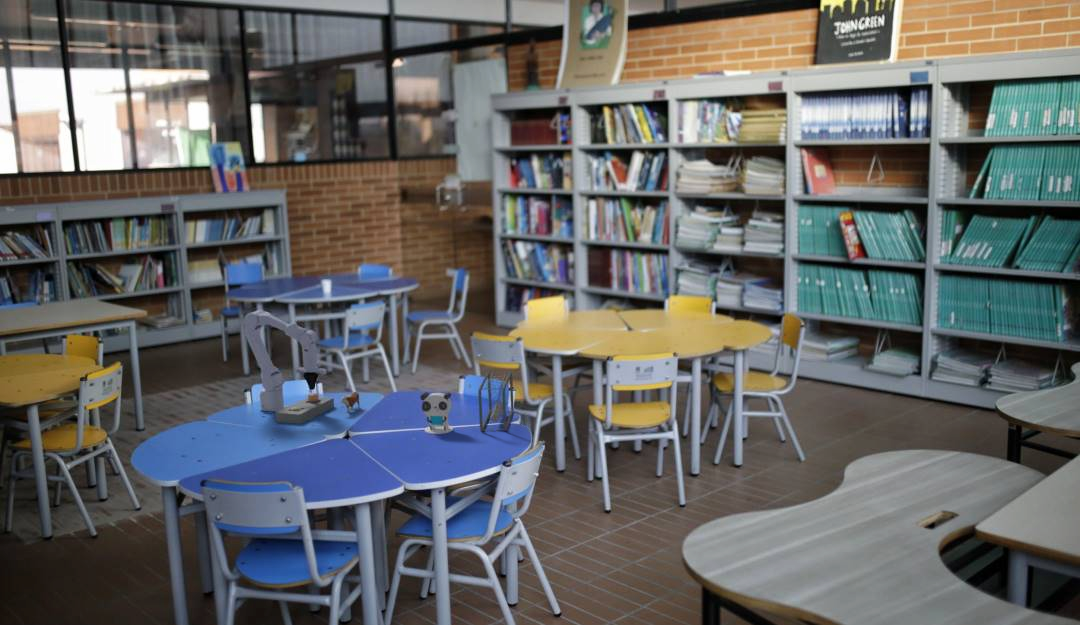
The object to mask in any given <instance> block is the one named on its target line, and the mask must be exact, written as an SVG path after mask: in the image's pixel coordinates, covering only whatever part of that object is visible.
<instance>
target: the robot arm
mask: <svg viewBox="0 0 1080 625" xmlns="http://www.w3.org/2000/svg"><path fill="white" fill-rule="evenodd" d="M242 322H243V325H244V335H245V338H246V341H247V342H248V345H249V347H250V348H251V351H252V353H253V356H254V357H255V359H256V361H257V364H258V366H259V368H260V370H261V374H260V378H261V385H262V387H263V389H262V390H260V394H259V399H260V409H259V410H260V411H261V412H262V411H263V412H264V411H266V412H275V413H276V412H278V411H280V410H282V409H284V408H286V407H289V405H285V404H284V403H285V402H284V389H283V387H284V386H283V385H284V384H285V379H286V378H285V376H284V374H283V373H282V372H280V369H279V368H278V367H276V366H275V365H274V364H273V363H274V362H272V359H271V357H270V355H269V353H268V351H267V348H266V346H265V344H264V341H263V339H262V337H261V335H260V332H261V329H262V327H263V326H265V325H266V326H267V325H269V326H270V327H271V326H272V327H274V328H277V329H279V330H281V331H283V332H284V333H285V335H286V336H288V337H290V338H292V339H294V340H296V341H298V342H299V344H300V346H301V351H302V353H301V354H302V364H303V366H302V367H296V368H294V372H295V374H297V373H303V375H302V377H303V378H304V379H305V381H306V383H307V387H308V389H309V390H310V391H311V390H312V391H313V390H316V389H315V388H316V385H317V384H316V383H317V380H318V378H319V375H320V374H321V375H326V374H327V368H321V367H318V360H317V359H318V358H317V345H316V341H317V340H318V335H317V333H316V331H314V330H313V329H308V328H305V327H304V328H303V327H301V326H299V325H298V323H296V322H294V323H293V322H292V323H291V322H290V323H287V322H285V321H283V320H281V319H280V318H278V317H276V316H274V315H272V314H271V312H269V311H265V310H264V309H258V310H255V311H253V312H249V313H247V314H245V315H244V319H243V320H242Z"/></svg>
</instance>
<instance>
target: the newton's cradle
mask: <svg viewBox="0 0 1080 625" xmlns="http://www.w3.org/2000/svg"><path fill="white" fill-rule="evenodd" d="M499 374H504V375H503V376H502V378H495V377H494V376H493V375H499ZM506 375H507V377H506ZM505 378H506V379H505ZM494 379H495V380H496V379H500V380H501V379H502V380H501V381H500V383H499V385H498V386H499V387H495V386H496V385H494V384H495V381H493V380H494ZM504 379H505V381H504ZM486 382H487V383H486ZM485 383H486V385H485ZM508 383H509V389H510V390H509V391H510V394H509V396H510V410H507V409H506V389H507V386H508ZM484 385H485V387H484ZM483 390H487V394H488V396H487V397H488V412H487V414H486V417H485V419H484V421H483V402H482V391H483ZM496 390H498V393H497V391H496ZM477 396H478V414H479V429H480V432H484V431H504V432H507V431H508V428H509V426H510V423H511V419H512V416H513V413H514V383H513V372H512V371H509V372H490V371H487V372H486V374H485V376H484V378H483V380H482V382H481V384H480V385H479V387H478V394H477ZM501 397H502V399H501ZM501 400H502V401H501ZM507 413H509V416H508V417H507ZM501 415H502V420H503V423H502V424H503V428H494V429H492V428H489V429H488V428H487V429H485V428H486V426H487V423H488V421H489V420H490V421H491V422H493V423H498V421H499V420H500V418H501Z"/></svg>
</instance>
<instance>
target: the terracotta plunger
mask: <svg viewBox="0 0 1080 625" xmlns="http://www.w3.org/2000/svg"><path fill="white" fill-rule="evenodd" d="M319 397H320V396H319V393H315V392H311V393H308V394H307V398H308V403H317V402H319Z"/></svg>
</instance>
